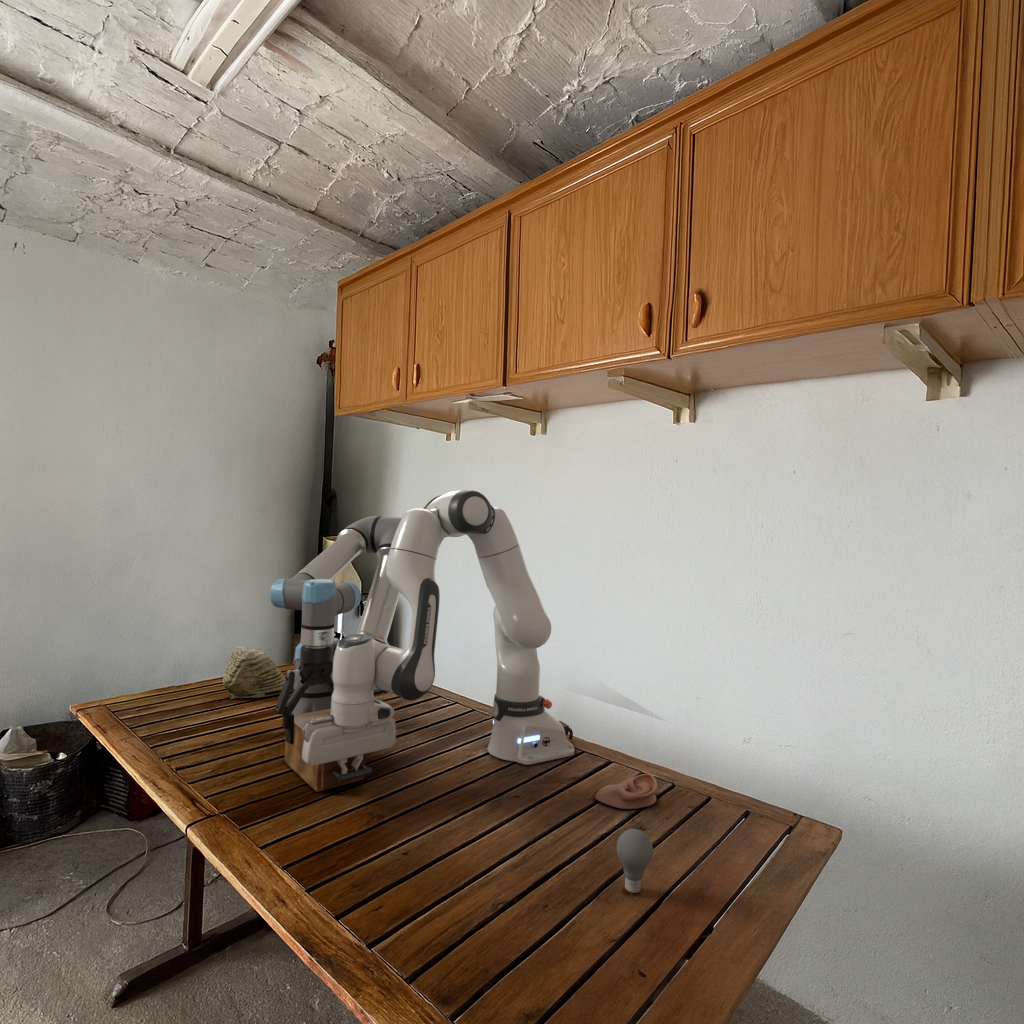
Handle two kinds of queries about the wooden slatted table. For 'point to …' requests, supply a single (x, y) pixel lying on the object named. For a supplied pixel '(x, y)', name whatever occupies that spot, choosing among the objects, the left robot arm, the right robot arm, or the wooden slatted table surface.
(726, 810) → the wooden slatted table surface
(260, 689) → the fossil
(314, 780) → the cabinet
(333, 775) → the drawer
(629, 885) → the light bulb
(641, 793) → the anatomical model
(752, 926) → the wooden slatted table surface
